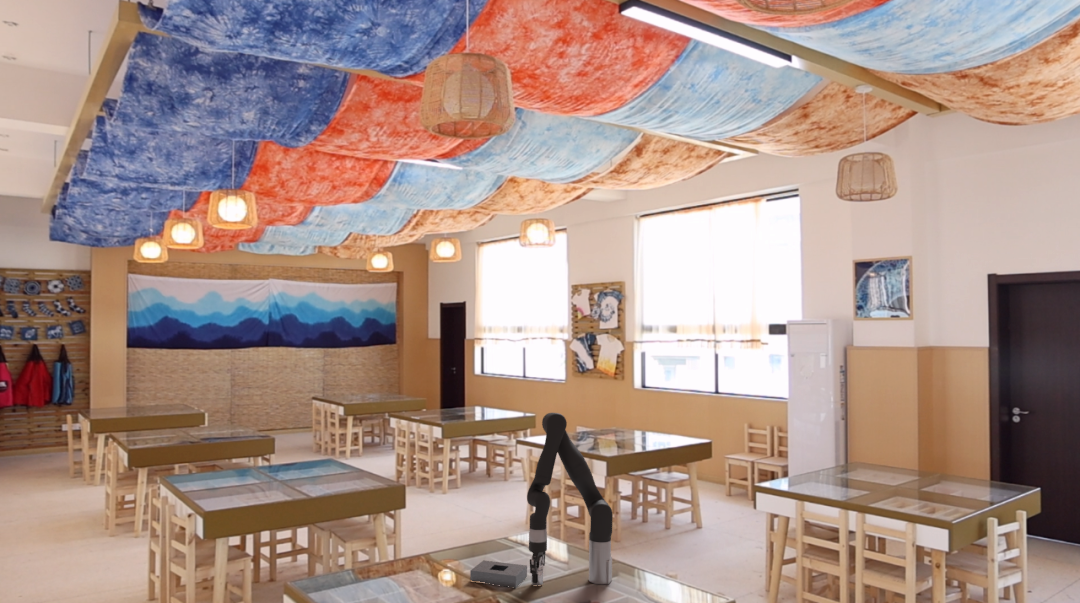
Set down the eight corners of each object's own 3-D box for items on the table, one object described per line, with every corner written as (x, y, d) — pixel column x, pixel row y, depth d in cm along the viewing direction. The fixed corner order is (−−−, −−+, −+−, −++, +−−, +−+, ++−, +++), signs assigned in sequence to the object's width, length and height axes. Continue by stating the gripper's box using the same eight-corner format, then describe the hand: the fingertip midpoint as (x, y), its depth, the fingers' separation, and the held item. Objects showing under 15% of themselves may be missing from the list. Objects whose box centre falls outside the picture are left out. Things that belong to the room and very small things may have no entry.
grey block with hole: (526, 577, 317) (527, 565, 317) (515, 588, 304) (515, 575, 304) (483, 571, 323) (483, 560, 323) (470, 582, 310) (470, 570, 310)
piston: (544, 583, 310) (544, 564, 310) (541, 587, 305) (541, 567, 305) (533, 582, 311) (533, 562, 311) (530, 586, 307) (530, 566, 307)
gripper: (541, 544, 301) (540, 587, 300) (551, 535, 314) (551, 575, 314) (523, 542, 303) (523, 585, 302) (534, 533, 317) (534, 573, 316)
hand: (537, 580), depth 308 cm, fingers open, 5 cm apart
